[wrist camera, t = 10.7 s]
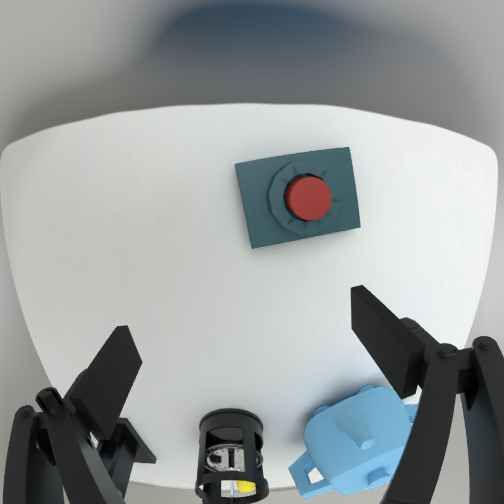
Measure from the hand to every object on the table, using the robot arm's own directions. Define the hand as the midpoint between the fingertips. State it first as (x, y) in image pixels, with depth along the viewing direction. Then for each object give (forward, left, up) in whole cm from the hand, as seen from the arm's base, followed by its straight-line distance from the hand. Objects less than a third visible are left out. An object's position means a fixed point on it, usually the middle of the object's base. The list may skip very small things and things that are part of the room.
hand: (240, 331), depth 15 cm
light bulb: (+42, -8, -14) cm, 45 cm away
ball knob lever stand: (+28, -27, -14) cm, 41 cm away
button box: (-5, +7, -14) cm, 17 cm away
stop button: (-5, +7, -11) cm, 14 cm away
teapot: (+27, +11, -14) cm, 32 cm away
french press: (+26, -7, -14) cm, 30 cm away
